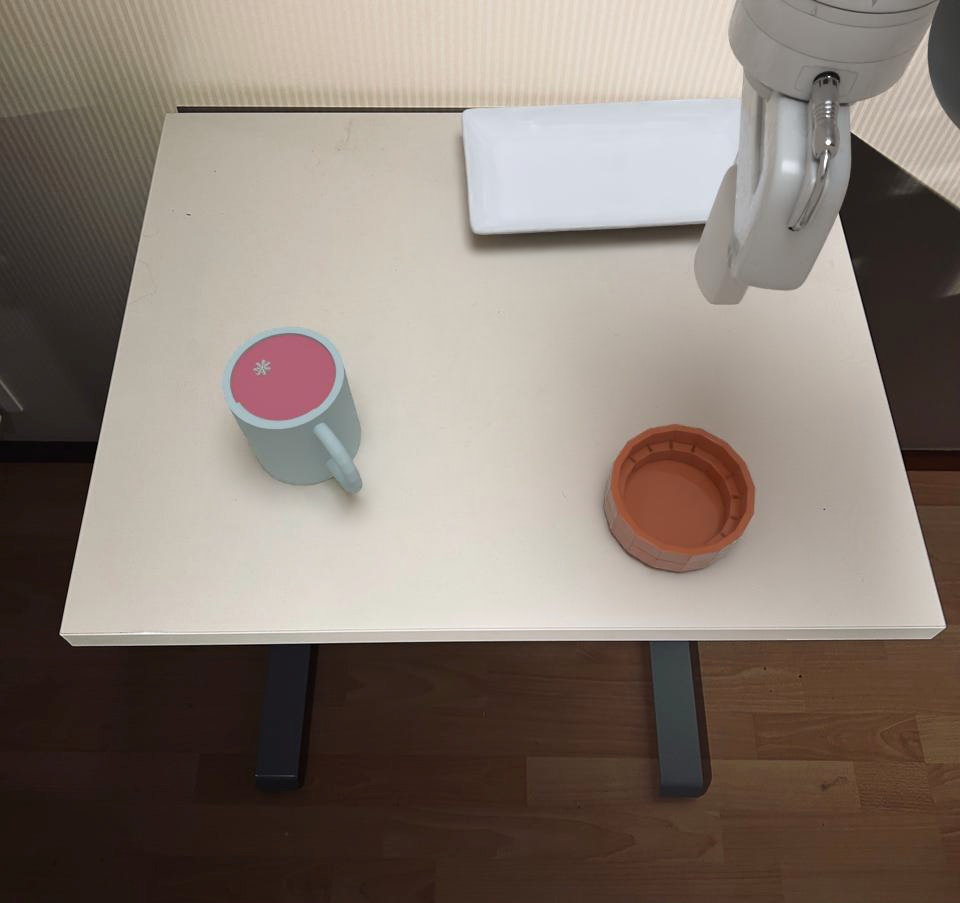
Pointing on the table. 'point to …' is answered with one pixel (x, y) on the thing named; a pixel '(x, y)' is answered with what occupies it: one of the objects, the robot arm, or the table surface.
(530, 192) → the tray
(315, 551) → the table surface
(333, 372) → the mug
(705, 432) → the bowl
